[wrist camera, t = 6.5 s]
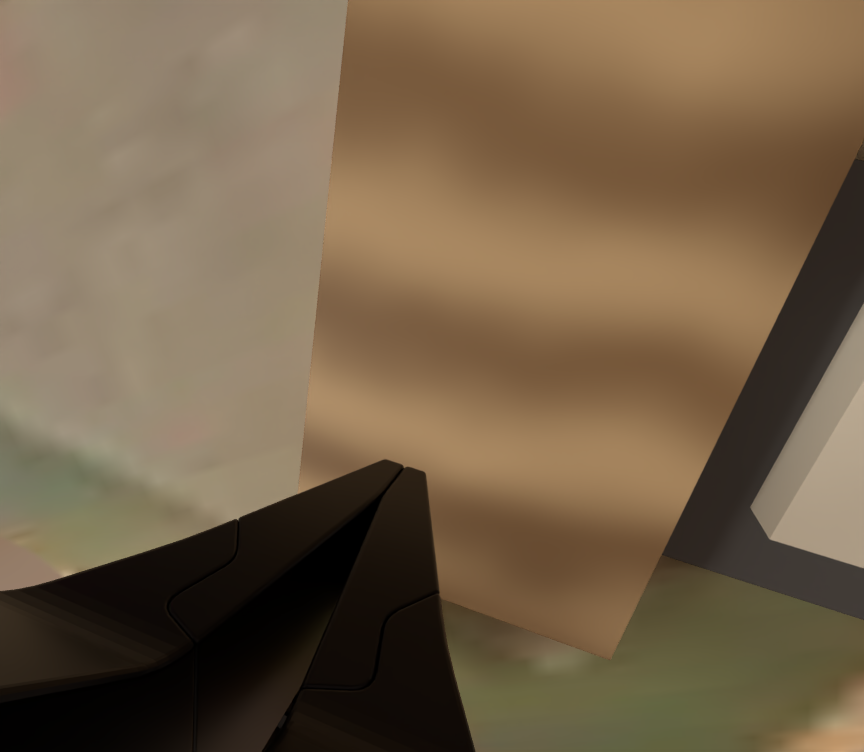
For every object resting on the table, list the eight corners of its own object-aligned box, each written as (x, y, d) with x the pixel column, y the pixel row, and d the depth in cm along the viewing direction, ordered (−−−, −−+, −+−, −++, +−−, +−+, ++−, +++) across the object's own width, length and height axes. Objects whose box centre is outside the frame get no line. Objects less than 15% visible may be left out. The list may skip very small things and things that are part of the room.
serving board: (602, 586, 23) (610, 660, 19) (332, 494, 25) (292, 544, 21) (843, 41, 14) (938, -13, 11) (402, -20, 17) (356, -83, 13)
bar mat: (883, 620, 20) (889, 628, 19) (635, 540, 21) (637, 546, 21) (1191, 221, 14) (1208, 221, 13) (812, 153, 15) (818, 152, 15)
